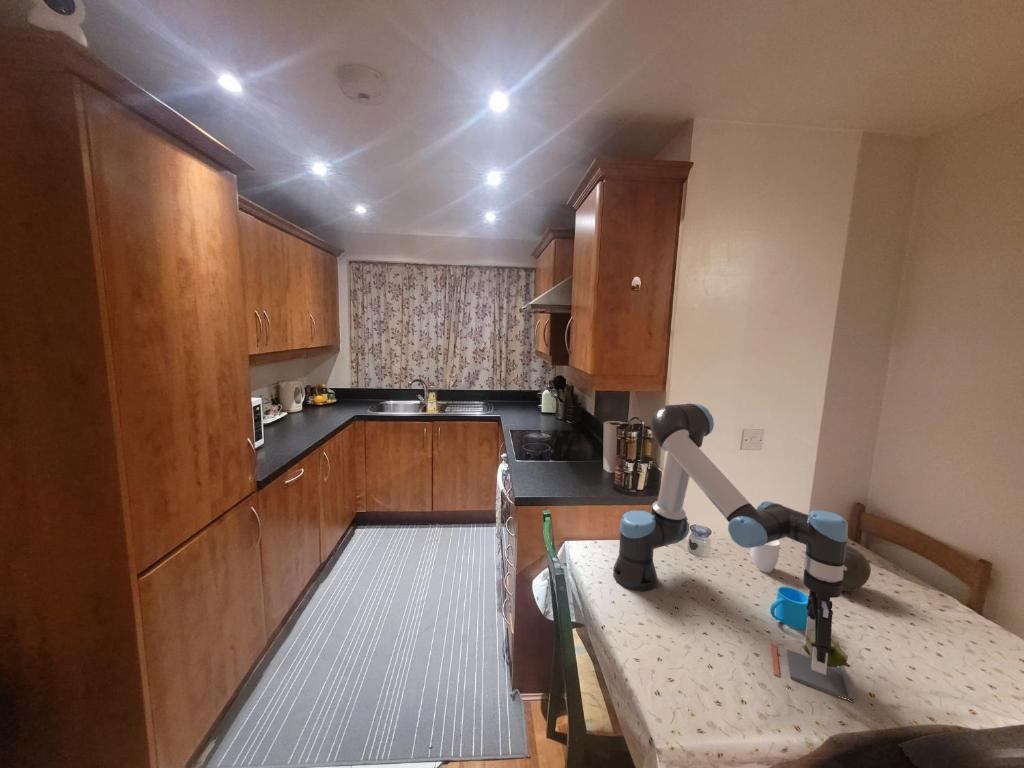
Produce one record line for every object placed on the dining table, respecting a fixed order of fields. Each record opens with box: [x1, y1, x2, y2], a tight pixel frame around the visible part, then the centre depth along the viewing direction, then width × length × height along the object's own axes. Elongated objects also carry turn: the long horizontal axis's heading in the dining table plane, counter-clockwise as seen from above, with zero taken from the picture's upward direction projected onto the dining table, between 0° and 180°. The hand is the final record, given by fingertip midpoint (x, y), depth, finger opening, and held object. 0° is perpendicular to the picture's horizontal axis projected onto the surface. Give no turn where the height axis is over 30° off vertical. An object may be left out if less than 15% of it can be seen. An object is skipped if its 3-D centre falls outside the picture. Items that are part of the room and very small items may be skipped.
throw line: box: [770, 642, 781, 678], centre depth 101 cm, size 1×12×1 cm, turn 149°
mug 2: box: [769, 586, 810, 630], centre depth 116 cm, size 12×8×8 cm
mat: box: [786, 649, 855, 703], centre depth 96 cm, size 12×10×2 cm
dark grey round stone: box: [842, 545, 872, 592], centre depth 132 cm, size 14×14×15 cm
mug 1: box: [746, 539, 781, 573], centre depth 144 cm, size 12×9×12 cm
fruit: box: [802, 630, 851, 668], centre depth 96 cm, size 9×9×8 cm
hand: (814, 656), depth 96 cm, fingers closed on fruit, 10 cm apart
